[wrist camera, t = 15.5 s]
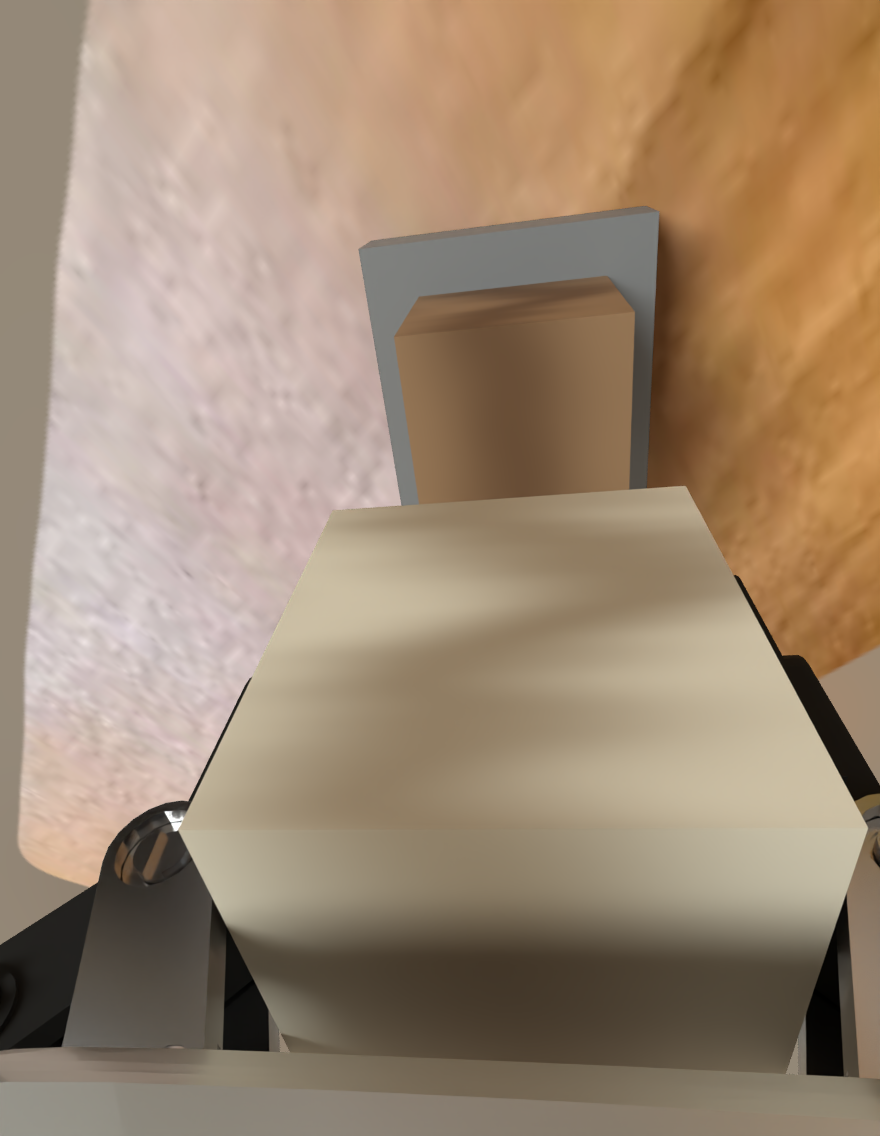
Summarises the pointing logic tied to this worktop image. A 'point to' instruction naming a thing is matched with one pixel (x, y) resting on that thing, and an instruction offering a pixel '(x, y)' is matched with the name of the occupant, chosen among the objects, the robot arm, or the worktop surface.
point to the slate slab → (513, 259)
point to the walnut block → (519, 390)
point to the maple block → (527, 796)
